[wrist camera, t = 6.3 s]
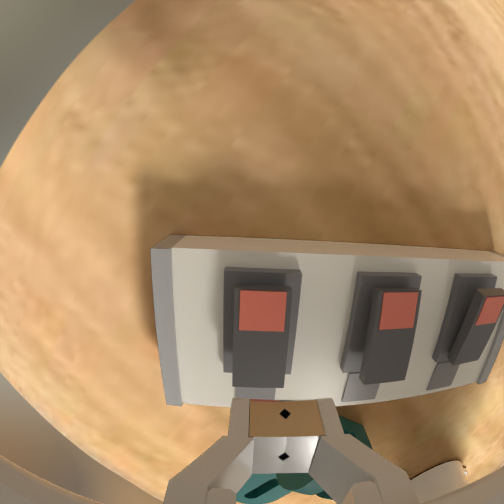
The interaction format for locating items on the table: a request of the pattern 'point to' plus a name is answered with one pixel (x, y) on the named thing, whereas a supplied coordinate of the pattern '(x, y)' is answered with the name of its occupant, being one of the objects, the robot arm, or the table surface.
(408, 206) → the table surface
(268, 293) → the rocker
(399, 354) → the rocker
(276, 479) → the bracket
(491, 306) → the rocker
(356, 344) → the power strip
